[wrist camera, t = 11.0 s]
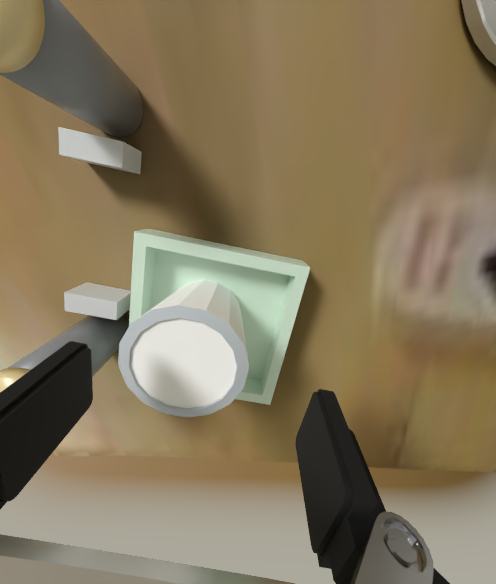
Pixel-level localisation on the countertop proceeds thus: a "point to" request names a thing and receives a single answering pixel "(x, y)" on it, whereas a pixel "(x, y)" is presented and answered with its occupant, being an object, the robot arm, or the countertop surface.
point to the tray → (235, 276)
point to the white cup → (187, 351)
